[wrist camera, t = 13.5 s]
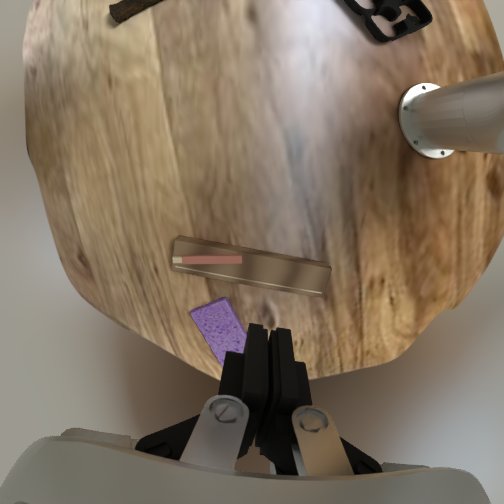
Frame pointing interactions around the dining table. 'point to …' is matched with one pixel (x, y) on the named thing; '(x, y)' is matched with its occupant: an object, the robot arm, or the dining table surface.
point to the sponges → (220, 327)
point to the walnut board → (255, 267)
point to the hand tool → (128, 8)
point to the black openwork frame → (393, 16)
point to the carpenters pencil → (208, 259)
